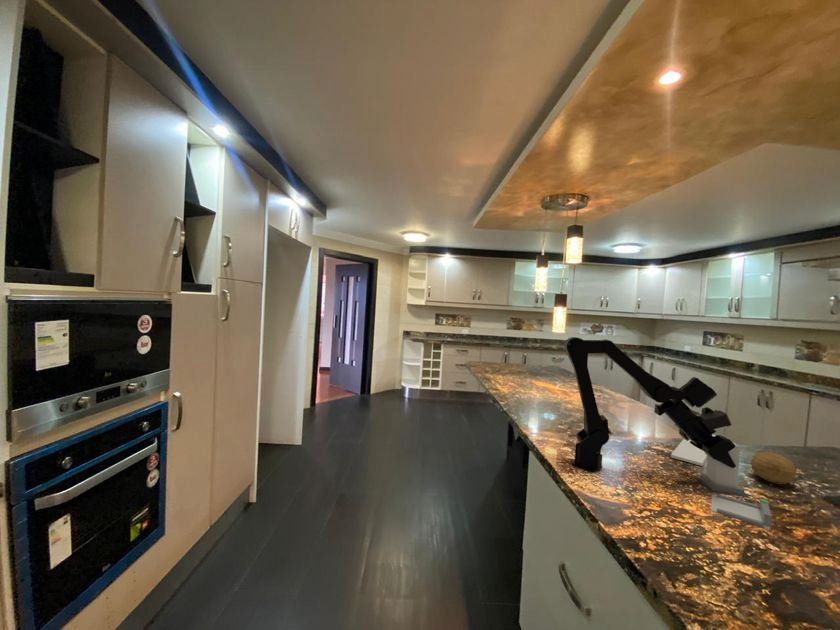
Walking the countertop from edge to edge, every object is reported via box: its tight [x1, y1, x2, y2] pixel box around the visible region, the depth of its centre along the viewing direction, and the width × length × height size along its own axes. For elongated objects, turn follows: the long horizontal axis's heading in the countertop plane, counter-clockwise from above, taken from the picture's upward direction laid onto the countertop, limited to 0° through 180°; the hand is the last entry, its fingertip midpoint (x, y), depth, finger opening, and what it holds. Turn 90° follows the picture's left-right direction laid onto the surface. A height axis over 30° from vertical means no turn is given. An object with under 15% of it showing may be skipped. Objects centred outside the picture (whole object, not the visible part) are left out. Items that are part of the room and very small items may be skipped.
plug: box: [699, 434, 745, 495], centre depth 98 cm, size 7×7×14 cm
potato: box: [750, 451, 797, 485], centre depth 105 cm, size 10×14×8 cm
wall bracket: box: [670, 434, 717, 467], centre depth 124 cm, size 10×7×28 cm
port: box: [710, 493, 773, 531], centre depth 85 cm, size 10×11×3 cm
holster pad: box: [693, 476, 751, 499], centre depth 98 cm, size 9×9×1 cm
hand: (728, 463), depth 97 cm, fingers closed on plug, 5 cm apart
